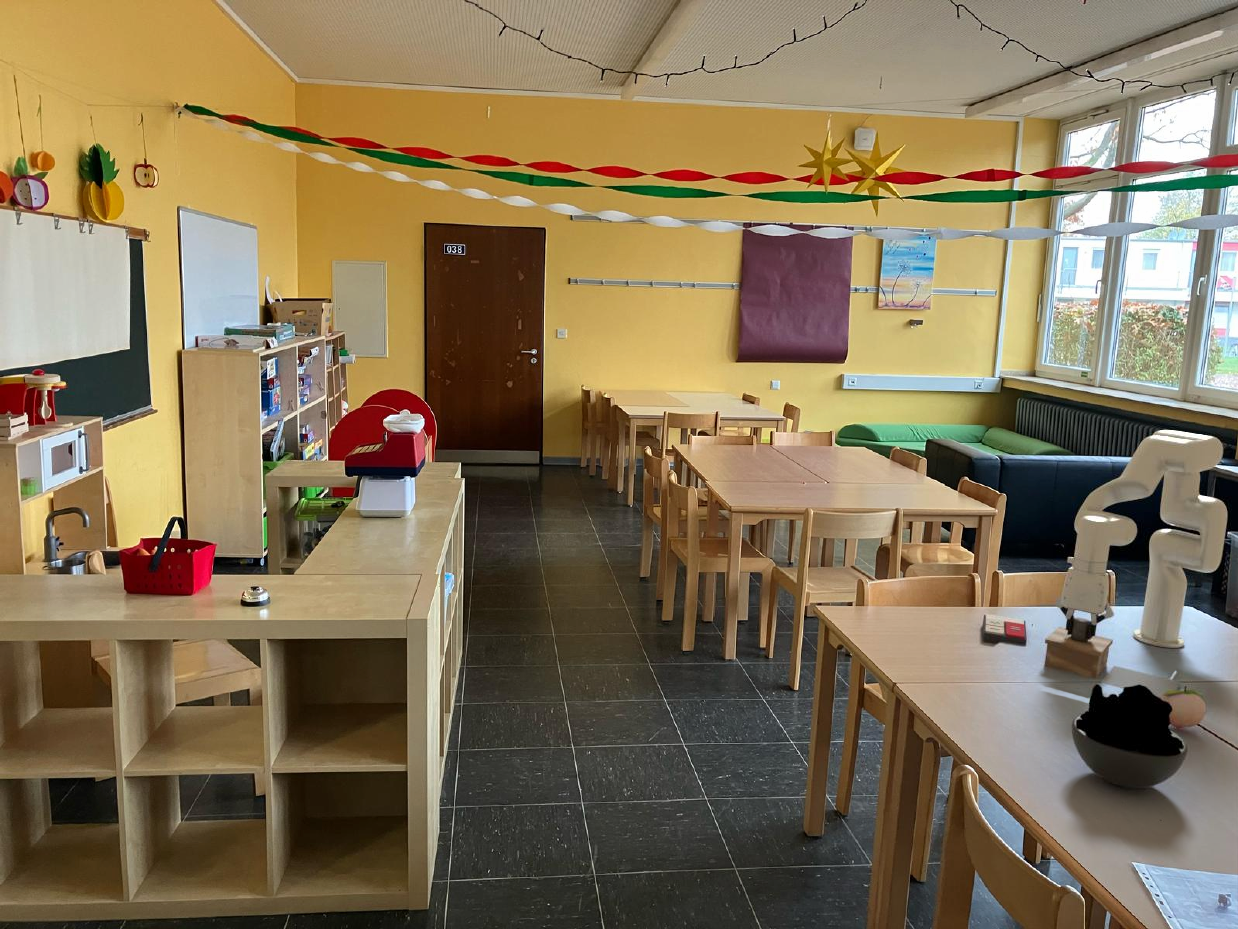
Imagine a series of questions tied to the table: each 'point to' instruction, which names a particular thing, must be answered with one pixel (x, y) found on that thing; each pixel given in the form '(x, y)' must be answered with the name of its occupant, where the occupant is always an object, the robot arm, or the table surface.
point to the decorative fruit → (1185, 707)
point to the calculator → (1003, 630)
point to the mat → (1139, 680)
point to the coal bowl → (1129, 738)
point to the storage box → (1075, 661)
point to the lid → (1079, 639)
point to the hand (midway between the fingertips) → (1079, 635)
